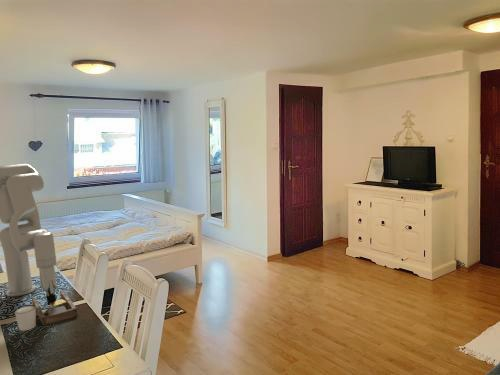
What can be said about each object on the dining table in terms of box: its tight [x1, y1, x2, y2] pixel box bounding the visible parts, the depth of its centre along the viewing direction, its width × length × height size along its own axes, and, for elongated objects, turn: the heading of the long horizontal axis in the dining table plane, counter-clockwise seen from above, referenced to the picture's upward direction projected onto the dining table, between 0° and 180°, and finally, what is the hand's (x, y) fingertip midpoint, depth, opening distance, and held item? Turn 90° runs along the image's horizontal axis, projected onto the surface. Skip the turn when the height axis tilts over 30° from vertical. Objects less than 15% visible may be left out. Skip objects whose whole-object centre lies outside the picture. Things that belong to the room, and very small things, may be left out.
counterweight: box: [47, 306, 67, 315], centre depth 161 cm, size 6×6×3 cm
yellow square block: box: [49, 298, 68, 310], centre depth 169 cm, size 5×5×3 cm
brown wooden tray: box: [31, 289, 78, 326], centre depth 168 cm, size 26×12×3 cm, turn 36°
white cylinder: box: [14, 305, 37, 332], centre depth 153 cm, size 7×7×7 cm
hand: (51, 303), depth 171 cm, fingers closed
